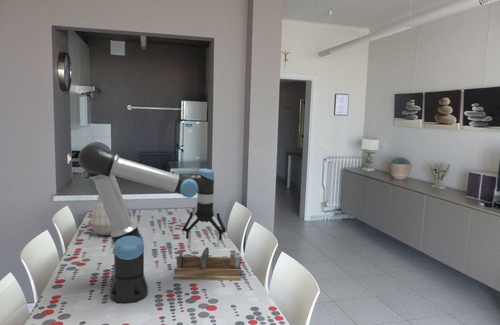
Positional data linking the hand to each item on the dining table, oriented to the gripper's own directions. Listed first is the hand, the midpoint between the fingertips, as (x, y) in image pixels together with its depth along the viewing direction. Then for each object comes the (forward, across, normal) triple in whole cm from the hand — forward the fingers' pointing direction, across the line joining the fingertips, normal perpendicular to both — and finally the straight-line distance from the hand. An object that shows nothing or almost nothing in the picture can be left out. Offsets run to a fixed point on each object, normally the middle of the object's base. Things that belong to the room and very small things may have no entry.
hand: (203, 245), depth 178 cm
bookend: (+13, +10, 0) cm, 17 cm away
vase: (+15, +66, -60) cm, 91 cm away
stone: (+10, -1, +1) cm, 10 cm away
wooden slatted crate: (+14, -2, 0) cm, 14 cm away
